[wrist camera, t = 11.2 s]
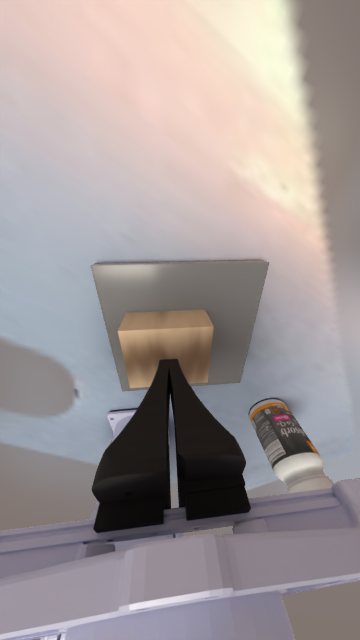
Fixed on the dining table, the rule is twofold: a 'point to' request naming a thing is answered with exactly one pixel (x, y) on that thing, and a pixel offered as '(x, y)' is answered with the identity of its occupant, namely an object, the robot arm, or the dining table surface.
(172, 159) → the dining table surface
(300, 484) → the pill bottle
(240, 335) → the board
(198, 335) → the block
